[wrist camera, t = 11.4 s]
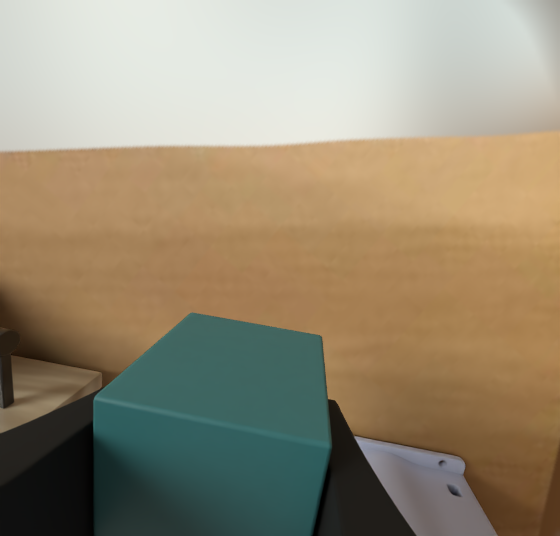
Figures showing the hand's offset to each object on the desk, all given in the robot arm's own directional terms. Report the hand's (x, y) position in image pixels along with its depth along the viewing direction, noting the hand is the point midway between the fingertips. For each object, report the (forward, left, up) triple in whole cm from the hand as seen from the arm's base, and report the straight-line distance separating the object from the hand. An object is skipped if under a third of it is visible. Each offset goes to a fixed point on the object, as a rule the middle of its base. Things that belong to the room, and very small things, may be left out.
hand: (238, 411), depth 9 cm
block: (0, 0, -1) cm, 1 cm away
